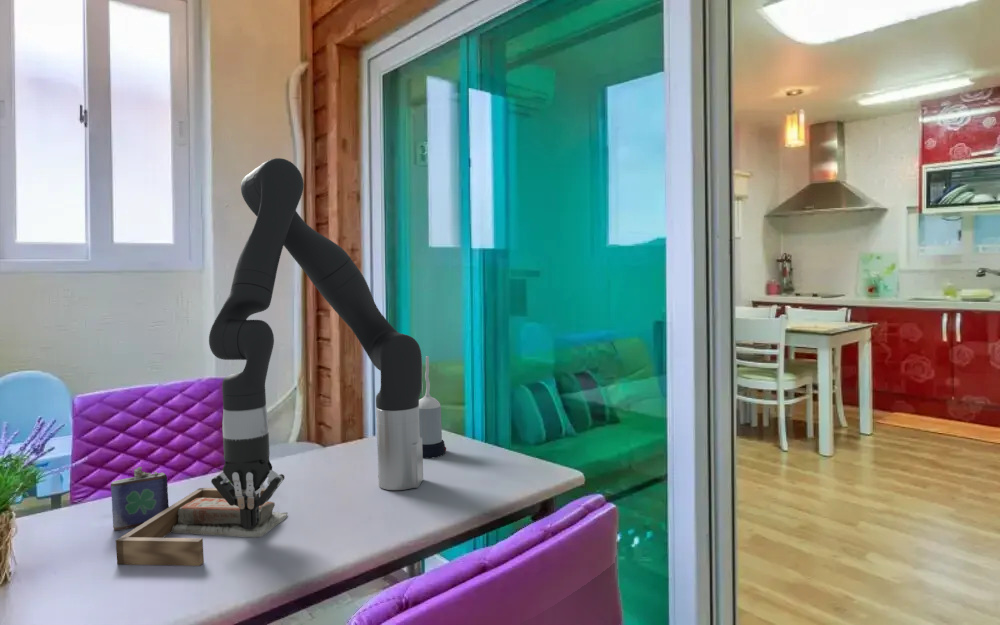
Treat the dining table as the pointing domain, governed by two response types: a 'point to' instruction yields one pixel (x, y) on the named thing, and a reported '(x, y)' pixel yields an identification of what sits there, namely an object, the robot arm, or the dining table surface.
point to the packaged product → (223, 518)
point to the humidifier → (430, 422)
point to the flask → (138, 498)
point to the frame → (153, 548)
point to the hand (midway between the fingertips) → (250, 527)
